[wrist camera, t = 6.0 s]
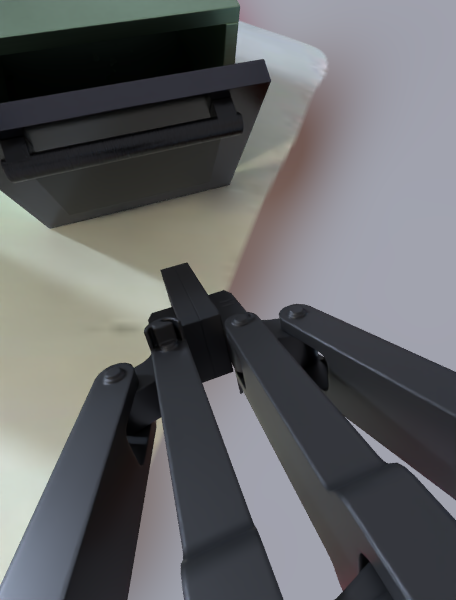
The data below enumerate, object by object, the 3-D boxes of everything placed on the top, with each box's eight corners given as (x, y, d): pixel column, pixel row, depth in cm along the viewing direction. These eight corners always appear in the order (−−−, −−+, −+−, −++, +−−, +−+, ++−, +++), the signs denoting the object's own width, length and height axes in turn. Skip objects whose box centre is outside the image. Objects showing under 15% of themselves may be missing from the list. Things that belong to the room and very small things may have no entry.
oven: (224, 172, 37) (240, 5, 22) (46, 214, 33) (-84, 47, 18) (183, 78, 41) (173, -111, 26) (23, 106, 38) (-95, -97, 23)
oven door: (235, 202, 36) (282, 111, 21) (55, 249, 32) (-51, 179, 17) (225, 171, 36) (264, 58, 21) (44, 214, 33) (-71, 114, 17)
